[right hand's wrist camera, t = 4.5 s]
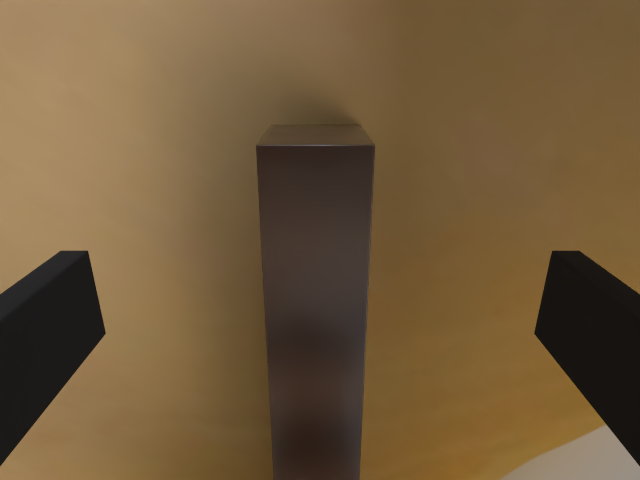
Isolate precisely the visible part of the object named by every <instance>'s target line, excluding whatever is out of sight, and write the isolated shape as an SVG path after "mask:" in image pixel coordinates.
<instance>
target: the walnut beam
mask: <svg viewBox="0 0 640 480" xmlns="http://www.w3.org/2000/svg"><path fill="white" fill-rule="evenodd" d="M256 154H257V173H258V192H259V210H260V229H261V247H262V266H263V284H264V303H265V321H266V340H267V359H268V377H269V396H270V414H271V433H272V451H273V470H274V480H359V477H360V455H361V434H362V412H363V391H364V370H365V348H366V327H367V305H368V284H369V262H370V241H371V219H372V198H373V176H374V155H375V145H374V143H373V142H372V141H371V139H370V138H369V136H368V135H367V134H366V132H365V131H364V129H363V128H362V126H361V125H271V126H270V128H269V129H268V130H267V132H266V133H265V134H264V136H263V137H262V138H261V140H260V141H259V142H258V144H257V145H256Z"/></svg>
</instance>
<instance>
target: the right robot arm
mask: <svg viewBox="0 0 640 480" xmlns="http://www.w3.org/2000/svg"><path fill="white" fill-rule="evenodd" d="M105 334H106V333H105V328H104V323H103V319H102V314H101V309H100V305H99V300H98V295H97V291H96V286H95V281H94V277H93V272H92V267H91V263H90V258H89V254H88V251H60V252H58V253H57V254H56V255H54V256H53V257H52V258H50V259H49V260H47V261H46V262H45V263H43V264H42V265H40V266H39V267H38V268H36V269H35V270H34V271H32V272H31V273H29V274H28V275H27V276H25V277H24V278H22V279H21V280H20V281H18V282H17V283H15V284H14V285H13V286H11V287H10V288H9V289H7V290H6V291H4V292H3V293H2V294H0V466H1V465H2V463H3V462H4V461H5V460H6V458H7V457H8V456H9V455H10V453H11V452H12V451H13V449H14V448H15V447H16V446H17V444H18V443H19V442H20V441H21V439H22V438H23V437H24V436H25V434H26V433H27V432H28V431H29V429H30V428H31V427H32V426H33V424H34V423H35V422H36V421H37V419H38V418H39V417H40V416H41V414H42V413H43V412H44V410H45V409H46V408H47V407H48V405H49V404H50V403H51V402H52V400H53V399H54V398H55V397H56V395H57V394H58V393H59V392H60V390H61V389H62V388H63V387H64V385H65V384H66V383H67V382H68V380H69V379H70V378H71V377H72V375H73V374H74V373H75V372H76V370H77V369H78V368H79V366H80V365H81V364H82V363H83V361H84V360H85V359H86V358H87V356H88V355H89V354H90V353H91V351H92V350H93V349H94V348H95V346H96V345H97V344H98V343H99V341H100V340H101V339H102V338H103V336H104V335H105ZM534 334H535V335H536V336H537V338H538V339H539V340H540V341H541V343H542V344H543V345H544V346H545V348H546V349H547V350H548V351H549V353H550V354H551V355H552V356H553V358H554V359H555V360H556V361H557V363H558V364H559V365H560V366H561V368H562V369H563V370H564V372H565V373H566V374H567V375H568V377H569V378H570V379H571V380H572V382H573V383H574V384H575V385H576V387H577V388H578V389H579V390H580V392H581V393H582V394H583V395H584V397H585V398H586V399H587V400H588V402H589V403H590V404H591V405H592V407H593V408H594V409H595V410H596V412H597V413H598V414H599V416H600V417H601V418H602V419H603V421H604V422H605V423H606V424H607V426H608V427H609V428H610V429H611V431H612V432H613V433H614V434H615V436H616V437H617V438H618V439H619V441H620V442H621V443H622V444H623V446H624V447H625V448H626V449H627V451H628V452H629V453H630V454H631V456H632V457H633V458H634V460H635V461H636V462H637V463H638V465H639V466H640V294H638V293H637V292H636V291H634V290H633V289H631V288H630V287H629V286H627V285H626V284H625V283H623V282H622V281H620V280H619V279H618V278H616V277H615V276H613V275H612V274H611V273H609V272H608V271H606V270H605V269H604V268H602V267H601V266H600V265H598V264H597V263H595V262H594V261H593V260H591V259H590V258H588V257H587V256H586V255H584V254H583V253H582V252H580V251H552V254H551V258H550V263H549V267H548V272H547V277H546V281H545V286H544V291H543V295H542V300H541V305H540V309H539V314H538V319H537V323H536V328H535V333H534Z"/></svg>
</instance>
